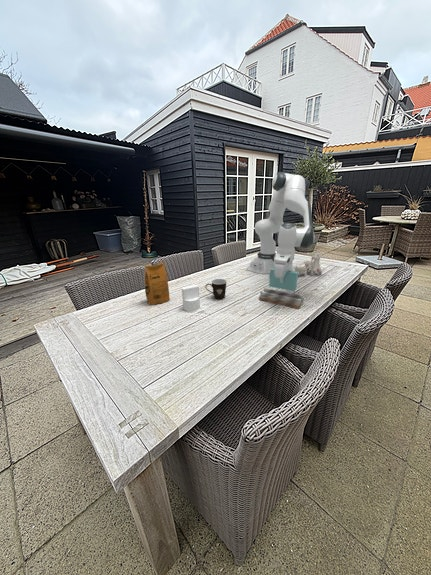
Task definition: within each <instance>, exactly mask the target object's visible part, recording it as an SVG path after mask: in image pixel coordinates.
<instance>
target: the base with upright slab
mask: <svg viewBox="0 0 431 575" xmlns="http://www.w3.org/2000/svg"><path fill="white" fill-rule="evenodd" d="M181 297H182V308H183V310H184V311H186V312H195V311H198V310H200V308H201V301H200V286H199V285H198V284H193V285H192V284H191V285H187V286H183V287H181Z"/></svg>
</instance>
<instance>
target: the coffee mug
mask: <svg viewBox="0 0 431 575" xmlns="http://www.w3.org/2000/svg"><path fill="white" fill-rule="evenodd" d="M227 282H228V281H227V280H226V279H224V278H216V279H213V280H211V283H206V284H205V286H204V287H205V289H206V291H208V292H209V293H212V295H213V299H214V300H219V301H220V300H224V299H225V298H226V290H227V284H228V283H227ZM208 285H209V286H210V287H211V288H212V291H211V290H209V289H208V288H207V286H208Z"/></svg>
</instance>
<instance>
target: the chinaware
mask: <svg viewBox="0 0 431 575" xmlns="http://www.w3.org/2000/svg"><path fill="white" fill-rule="evenodd" d="M321 258H322V256H321V255H320V254H319V253H318V252H315V253H314V254H313V255H311V261H304V262H303V263H304V264H303V265H304V266H305V267H303V266H295V267H294V271H296V272H298V277H303V275H304V274H307V275H309V276H312V277H318V276H320V274H322V272H323V270H322V268H321V265H320V260H321ZM306 272H307V273H306Z"/></svg>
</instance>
